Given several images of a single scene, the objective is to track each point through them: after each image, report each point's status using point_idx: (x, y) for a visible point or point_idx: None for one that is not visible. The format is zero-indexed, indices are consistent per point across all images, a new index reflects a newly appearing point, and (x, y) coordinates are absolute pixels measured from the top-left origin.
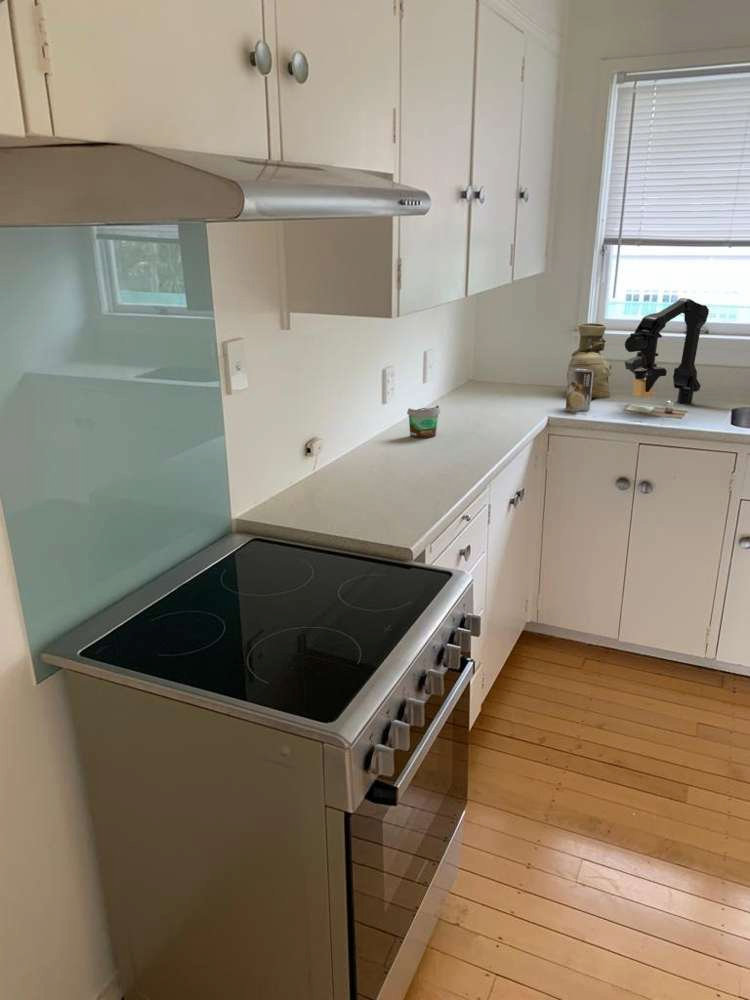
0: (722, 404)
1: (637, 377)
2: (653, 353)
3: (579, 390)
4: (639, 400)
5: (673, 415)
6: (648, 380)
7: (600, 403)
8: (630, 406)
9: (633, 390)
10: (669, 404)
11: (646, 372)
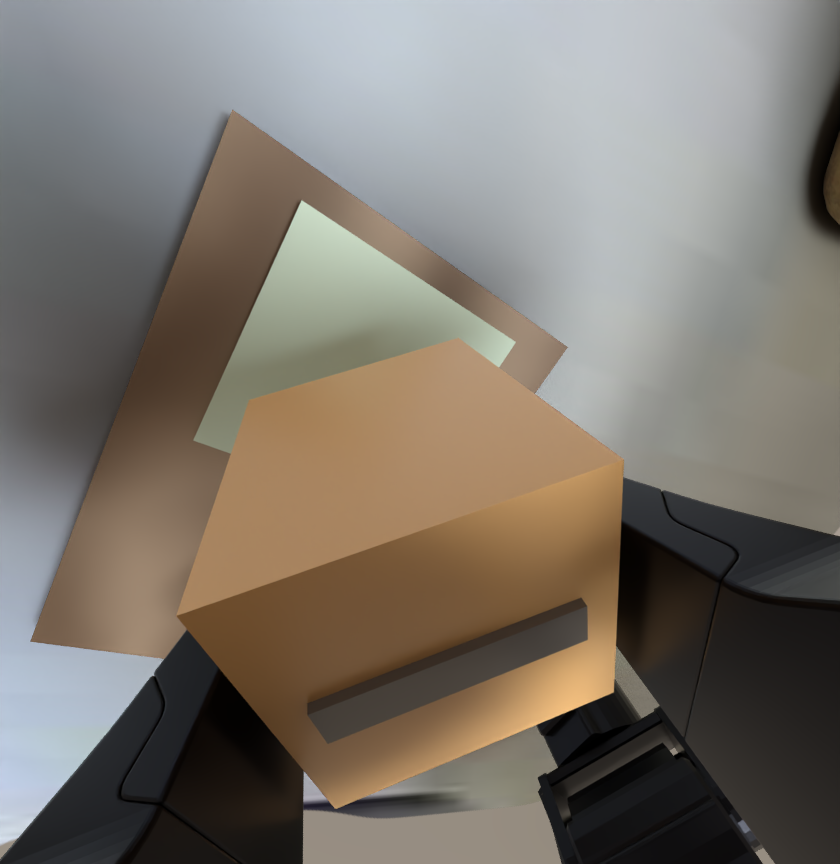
0: (527, 766)
1: (678, 565)
2: None
3: None
4: (700, 460)
5: (152, 601)
6: (20, 848)
7: (734, 49)
8: (441, 307)
9: (472, 359)
10: None
11: (765, 849)
